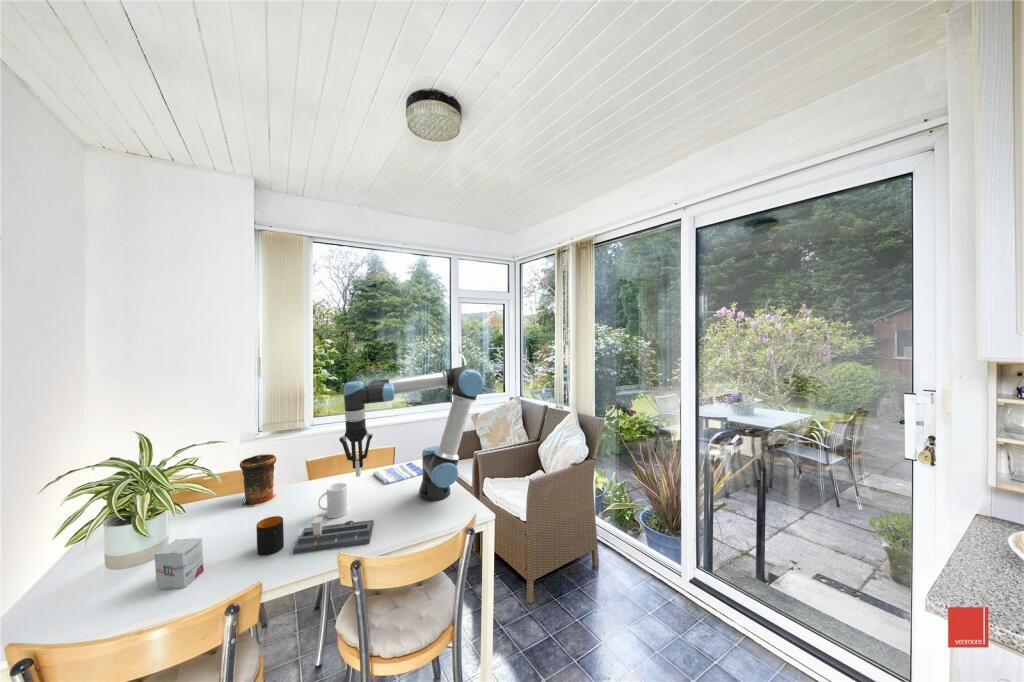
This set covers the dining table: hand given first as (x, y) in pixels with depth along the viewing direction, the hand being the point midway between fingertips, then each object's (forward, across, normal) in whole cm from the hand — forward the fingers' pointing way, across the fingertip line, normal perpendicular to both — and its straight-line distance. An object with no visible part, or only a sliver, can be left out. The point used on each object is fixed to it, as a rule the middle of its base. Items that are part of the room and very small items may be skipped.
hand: (358, 475), depth 152 cm
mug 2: (+21, +13, -11) cm, 27 cm away
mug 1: (+20, +29, +11) cm, 37 cm away
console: (+20, +8, +9) cm, 24 cm away
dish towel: (+22, -14, -49) cm, 55 cm away
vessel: (+20, +49, -35) cm, 63 cm away
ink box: (+19, +52, +21) cm, 59 cm away
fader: (+18, +14, +9) cm, 25 cm away
